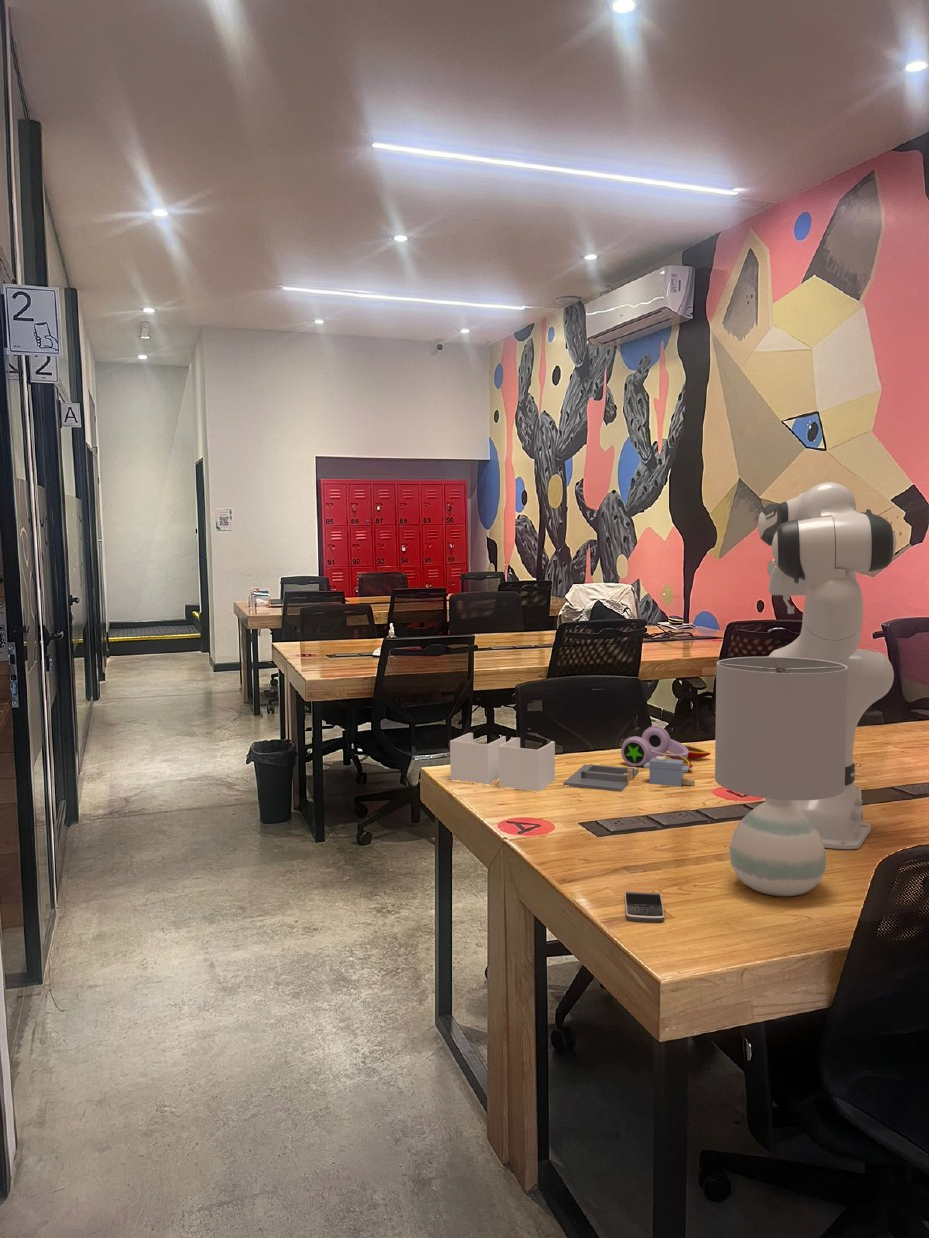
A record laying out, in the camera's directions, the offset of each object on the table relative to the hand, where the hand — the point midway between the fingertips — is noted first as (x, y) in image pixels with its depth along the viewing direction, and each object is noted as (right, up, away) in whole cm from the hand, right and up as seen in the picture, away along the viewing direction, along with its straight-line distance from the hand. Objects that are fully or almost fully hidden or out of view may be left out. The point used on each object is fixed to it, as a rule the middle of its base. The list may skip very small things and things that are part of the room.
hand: (811, 613), depth 216 cm
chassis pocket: (-49, -43, +15) cm, 67 cm away
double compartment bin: (-76, -44, +13) cm, 89 cm away
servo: (-33, -44, +10) cm, 56 cm away
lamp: (-30, -50, -59) cm, 83 cm away
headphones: (-29, -42, +32) cm, 60 cm away
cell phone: (-55, -51, -67) cm, 101 cm away
